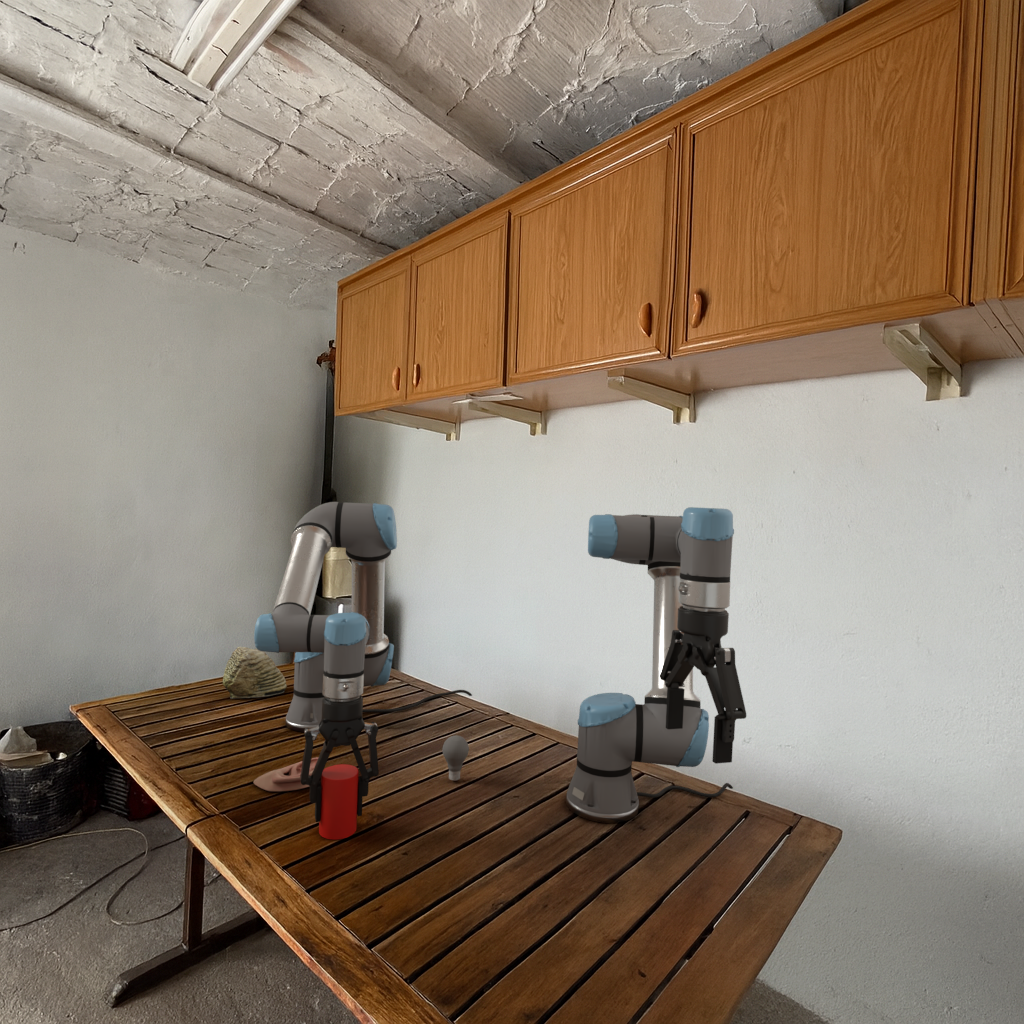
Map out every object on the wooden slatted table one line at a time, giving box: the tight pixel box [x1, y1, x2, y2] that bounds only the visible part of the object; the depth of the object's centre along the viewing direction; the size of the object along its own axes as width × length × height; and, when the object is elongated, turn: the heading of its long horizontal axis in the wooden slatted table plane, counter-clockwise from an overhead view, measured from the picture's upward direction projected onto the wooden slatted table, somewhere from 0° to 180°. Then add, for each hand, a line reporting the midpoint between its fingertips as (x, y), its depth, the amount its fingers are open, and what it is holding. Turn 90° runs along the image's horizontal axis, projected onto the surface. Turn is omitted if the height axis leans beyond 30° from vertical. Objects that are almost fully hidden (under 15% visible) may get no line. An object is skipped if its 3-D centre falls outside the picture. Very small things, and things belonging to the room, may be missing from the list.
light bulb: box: [442, 734, 470, 782], centre depth 144 cm, size 6×6×10 cm
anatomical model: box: [253, 756, 319, 792], centre depth 140 cm, size 13×4×12 cm
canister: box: [318, 763, 360, 841], centre depth 121 cm, size 7×7×11 cm
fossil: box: [222, 646, 288, 699], centre depth 198 cm, size 9×18×15 cm, turn 132°
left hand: (338, 815), depth 121 cm, fingers closed on canister, 7 cm apart
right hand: (696, 744), depth 98 cm, fingers open, 13 cm apart
